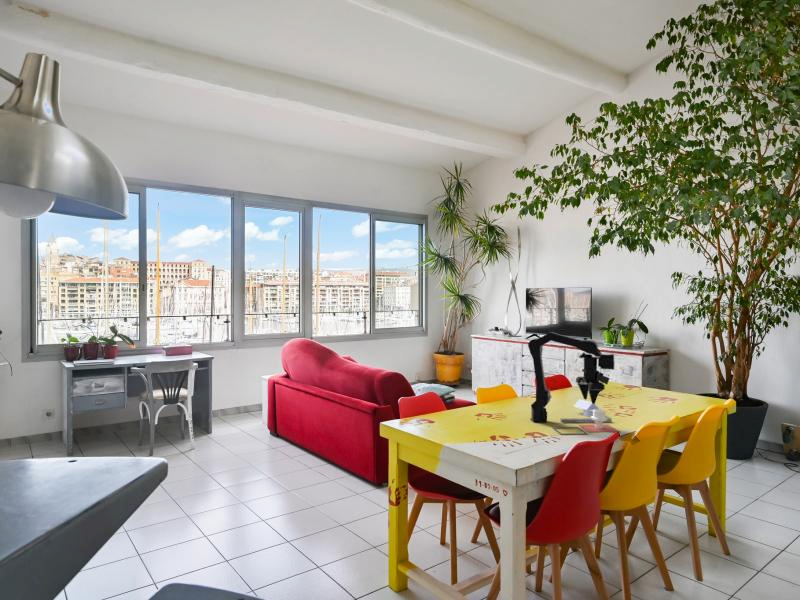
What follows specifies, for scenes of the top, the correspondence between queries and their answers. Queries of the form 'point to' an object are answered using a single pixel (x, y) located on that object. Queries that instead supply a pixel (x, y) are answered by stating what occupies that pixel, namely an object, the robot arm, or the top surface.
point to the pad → (604, 429)
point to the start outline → (570, 433)
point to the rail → (582, 420)
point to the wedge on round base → (586, 407)
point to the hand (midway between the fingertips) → (589, 401)
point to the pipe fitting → (598, 418)
